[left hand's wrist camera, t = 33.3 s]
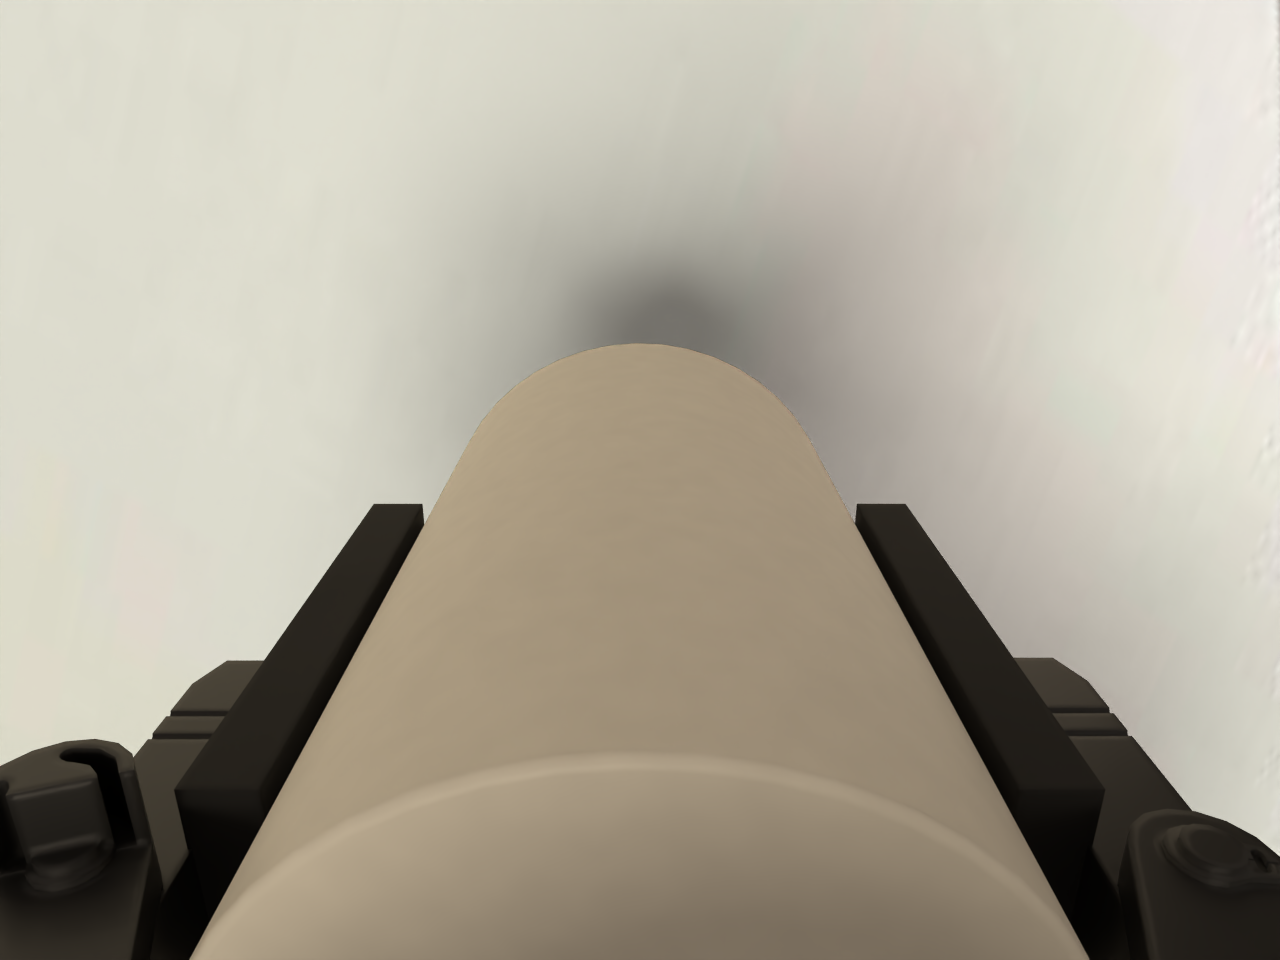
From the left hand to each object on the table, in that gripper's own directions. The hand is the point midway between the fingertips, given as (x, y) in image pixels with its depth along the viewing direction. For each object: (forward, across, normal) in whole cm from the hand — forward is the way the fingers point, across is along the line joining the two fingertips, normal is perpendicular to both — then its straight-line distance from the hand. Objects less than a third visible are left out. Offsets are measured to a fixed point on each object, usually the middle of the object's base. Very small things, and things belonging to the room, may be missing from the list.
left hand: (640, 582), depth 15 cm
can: (+2, 0, 0) cm, 2 cm away
